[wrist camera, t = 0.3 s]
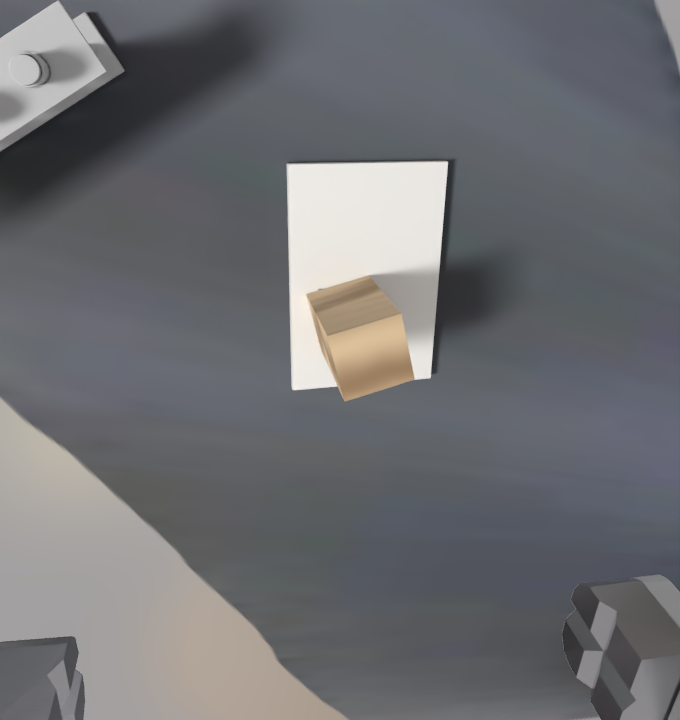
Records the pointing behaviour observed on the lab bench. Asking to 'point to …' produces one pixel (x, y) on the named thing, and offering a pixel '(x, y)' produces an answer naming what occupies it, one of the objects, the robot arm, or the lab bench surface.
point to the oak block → (361, 337)
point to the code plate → (364, 248)
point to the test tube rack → (49, 69)
